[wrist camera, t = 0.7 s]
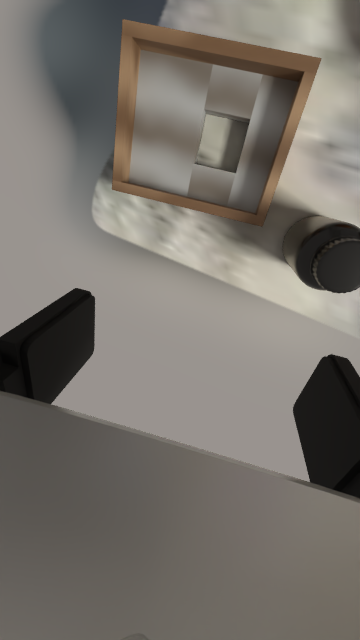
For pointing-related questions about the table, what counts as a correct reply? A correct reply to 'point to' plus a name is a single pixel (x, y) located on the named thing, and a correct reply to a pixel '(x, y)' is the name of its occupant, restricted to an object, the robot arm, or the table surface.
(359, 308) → the table surface
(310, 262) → the supplement bottle
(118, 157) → the wooden rectangular frame
